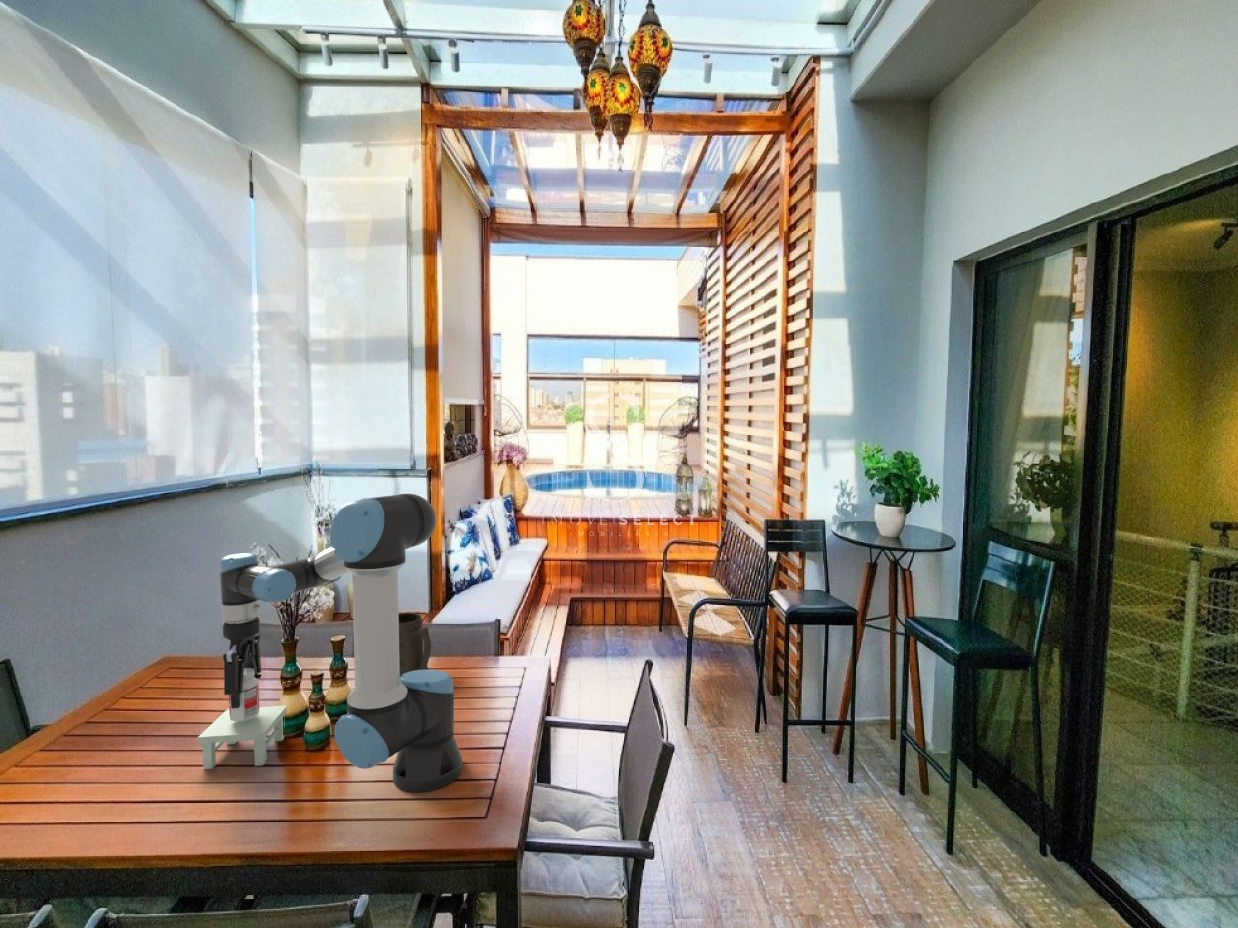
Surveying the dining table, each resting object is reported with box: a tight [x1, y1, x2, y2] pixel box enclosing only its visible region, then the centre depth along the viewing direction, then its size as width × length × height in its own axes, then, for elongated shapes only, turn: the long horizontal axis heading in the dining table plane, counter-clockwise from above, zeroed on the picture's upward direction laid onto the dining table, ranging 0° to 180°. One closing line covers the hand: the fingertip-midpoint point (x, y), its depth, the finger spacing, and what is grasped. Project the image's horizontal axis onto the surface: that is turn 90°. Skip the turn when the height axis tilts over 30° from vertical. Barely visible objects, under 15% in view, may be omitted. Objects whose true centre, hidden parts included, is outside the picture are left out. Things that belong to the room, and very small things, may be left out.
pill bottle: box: [228, 668, 260, 722], centre depth 147 cm, size 6×6×11 cm
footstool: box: [197, 705, 288, 770], centre depth 148 cm, size 14×14×8 cm
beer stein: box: [399, 612, 432, 677], centre depth 189 cm, size 15×11×20 cm
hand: (244, 712), depth 147 cm, fingers closed on pill bottle, 6 cm apart
